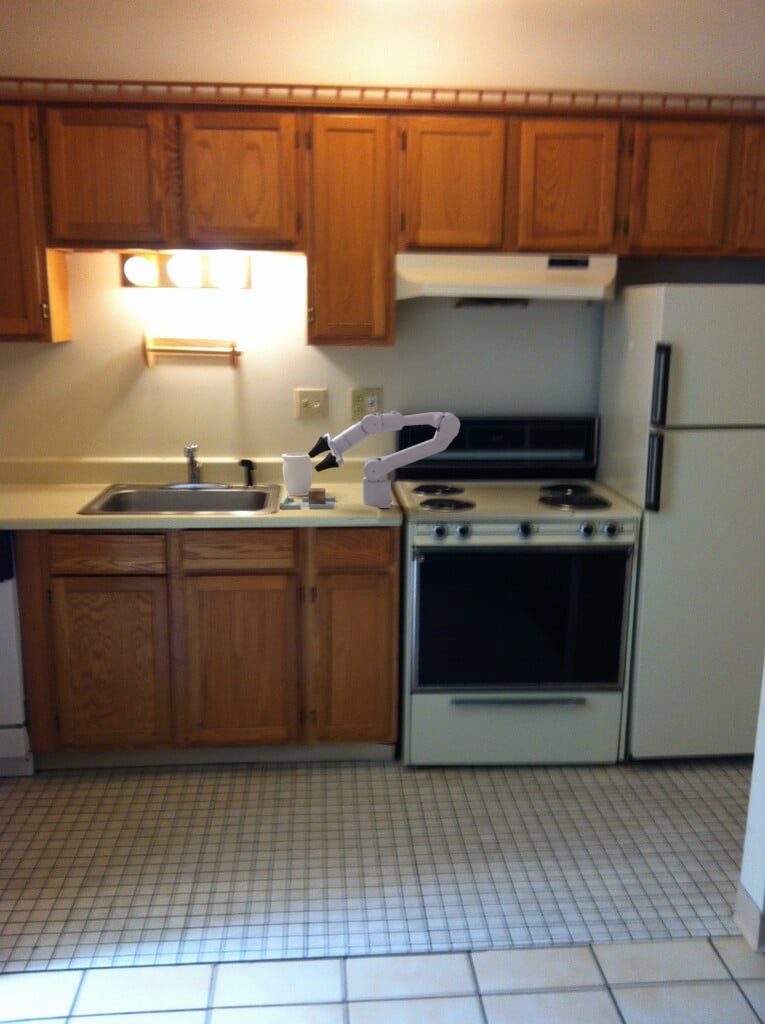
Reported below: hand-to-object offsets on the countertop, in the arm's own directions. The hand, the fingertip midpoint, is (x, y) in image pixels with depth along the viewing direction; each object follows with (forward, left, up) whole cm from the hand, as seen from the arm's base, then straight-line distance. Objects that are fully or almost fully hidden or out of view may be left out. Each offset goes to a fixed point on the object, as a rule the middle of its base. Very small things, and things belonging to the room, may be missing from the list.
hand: (312, 462), depth 275 cm
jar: (+7, -18, -15) cm, 25 cm away
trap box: (+2, +1, -15) cm, 15 cm away
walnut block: (-1, +1, -14) cm, 14 cm away
